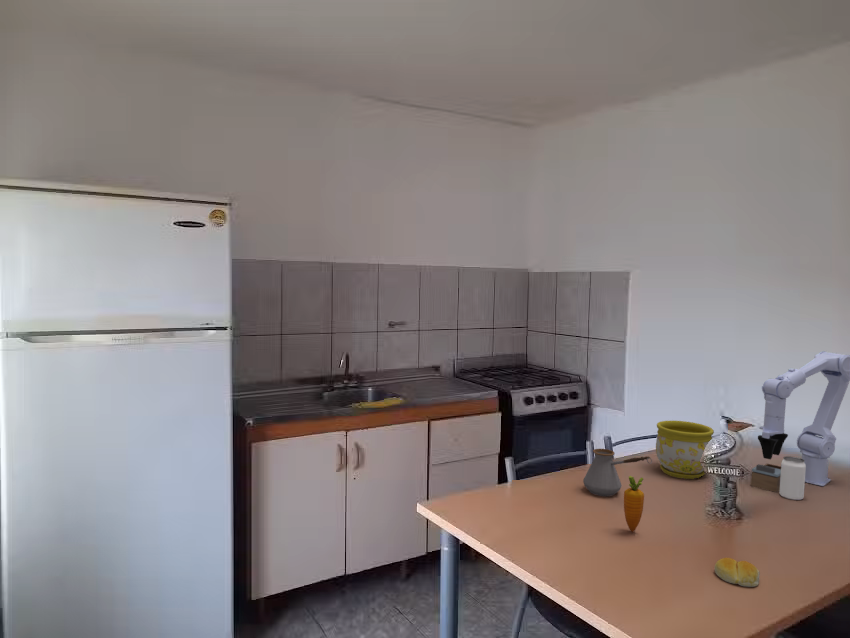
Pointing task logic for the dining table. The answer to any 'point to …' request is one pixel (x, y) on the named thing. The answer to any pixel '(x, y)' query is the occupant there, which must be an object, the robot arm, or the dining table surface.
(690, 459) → the flowerpot
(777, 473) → the cover
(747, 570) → the bread roll
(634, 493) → the carrot
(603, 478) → the coffee pot
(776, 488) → the brown rectangular box
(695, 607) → the dining table surface
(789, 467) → the can
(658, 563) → the dining table surface
